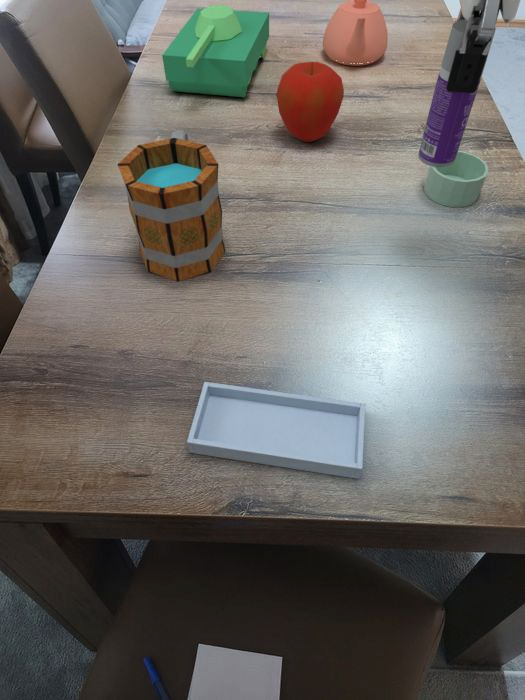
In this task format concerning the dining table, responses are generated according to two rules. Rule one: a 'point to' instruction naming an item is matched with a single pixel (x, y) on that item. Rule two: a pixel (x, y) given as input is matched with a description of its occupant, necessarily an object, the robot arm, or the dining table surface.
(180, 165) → the mug
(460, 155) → the bowl
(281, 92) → the apple
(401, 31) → the dining table surface
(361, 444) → the tray
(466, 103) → the container
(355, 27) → the teapot
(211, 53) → the toy tank
